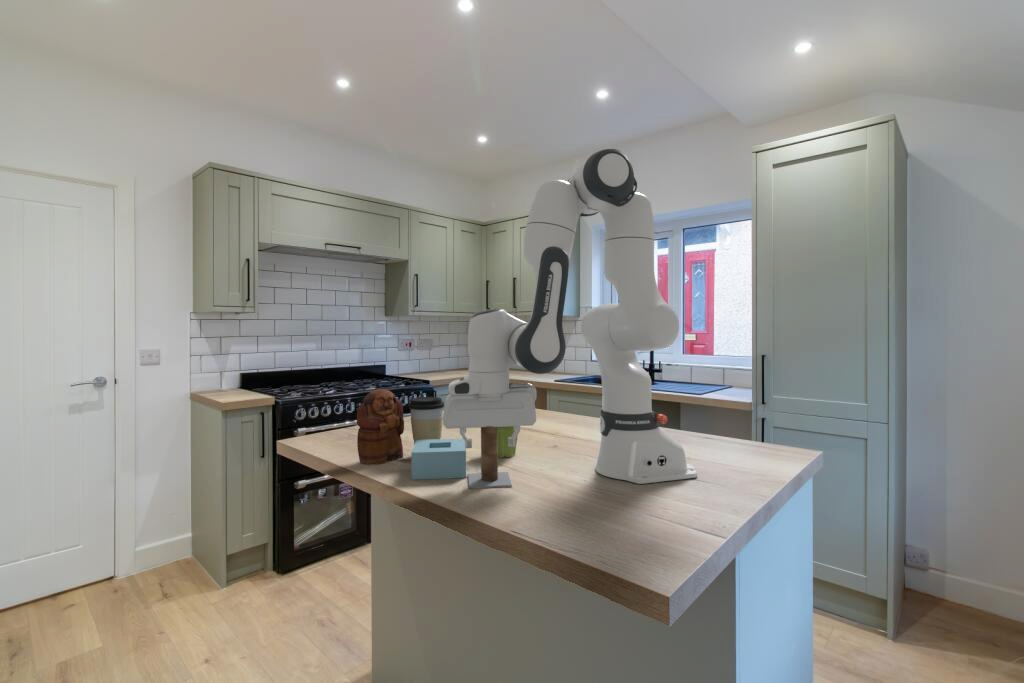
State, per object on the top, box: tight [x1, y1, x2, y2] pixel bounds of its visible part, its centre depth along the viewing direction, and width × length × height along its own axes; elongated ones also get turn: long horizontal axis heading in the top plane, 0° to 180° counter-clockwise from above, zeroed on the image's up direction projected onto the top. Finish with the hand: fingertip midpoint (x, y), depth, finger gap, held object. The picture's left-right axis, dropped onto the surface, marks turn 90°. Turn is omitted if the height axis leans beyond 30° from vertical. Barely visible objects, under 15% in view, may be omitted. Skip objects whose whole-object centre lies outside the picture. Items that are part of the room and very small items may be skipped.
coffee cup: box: [407, 396, 445, 446], centre depth 126 cm, size 9×9×15 cm
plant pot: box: [497, 426, 519, 458], centre depth 127 cm, size 9×9×9 cm
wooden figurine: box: [356, 388, 405, 465], centre depth 123 cm, size 12×6×18 cm, turn 142°
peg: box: [480, 426, 499, 482], centre depth 106 cm, size 4×4×12 cm
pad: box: [467, 471, 513, 489], centre depth 106 cm, size 9×9×1 cm
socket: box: [410, 438, 467, 480], centre depth 113 cm, size 12×12×6 cm
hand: (490, 446), depth 106 cm, fingers open, 8 cm apart
